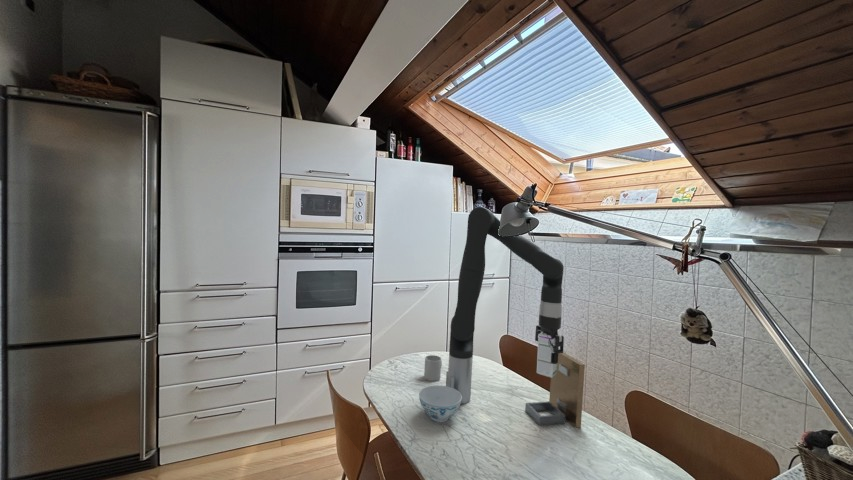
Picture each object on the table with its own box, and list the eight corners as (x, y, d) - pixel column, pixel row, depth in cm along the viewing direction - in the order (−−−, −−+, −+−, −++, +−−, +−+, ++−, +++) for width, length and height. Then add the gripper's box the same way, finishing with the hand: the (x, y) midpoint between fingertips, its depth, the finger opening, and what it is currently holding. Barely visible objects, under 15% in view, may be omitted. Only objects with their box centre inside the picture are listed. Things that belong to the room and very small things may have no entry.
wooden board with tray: (544, 431, 114) (548, 366, 113) (521, 406, 129) (524, 349, 129) (580, 428, 117) (584, 364, 116) (553, 404, 132) (557, 348, 132)
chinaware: (433, 434, 109) (435, 410, 109) (409, 412, 121) (411, 390, 121) (469, 421, 117) (470, 399, 117) (443, 402, 130) (444, 382, 129)
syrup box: (552, 378, 118) (555, 336, 118) (535, 373, 122) (538, 333, 121) (557, 373, 123) (559, 333, 122) (540, 368, 126) (543, 330, 126)
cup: (420, 378, 150) (421, 358, 150) (434, 371, 158) (435, 352, 158) (433, 383, 145) (435, 362, 145) (446, 376, 153) (448, 356, 153)
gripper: (530, 309, 128) (527, 352, 128) (552, 319, 114) (549, 367, 114) (548, 309, 130) (545, 351, 130) (572, 319, 116) (569, 366, 116)
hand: (547, 358), depth 122 cm, fingers closed on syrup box, 8 cm apart
